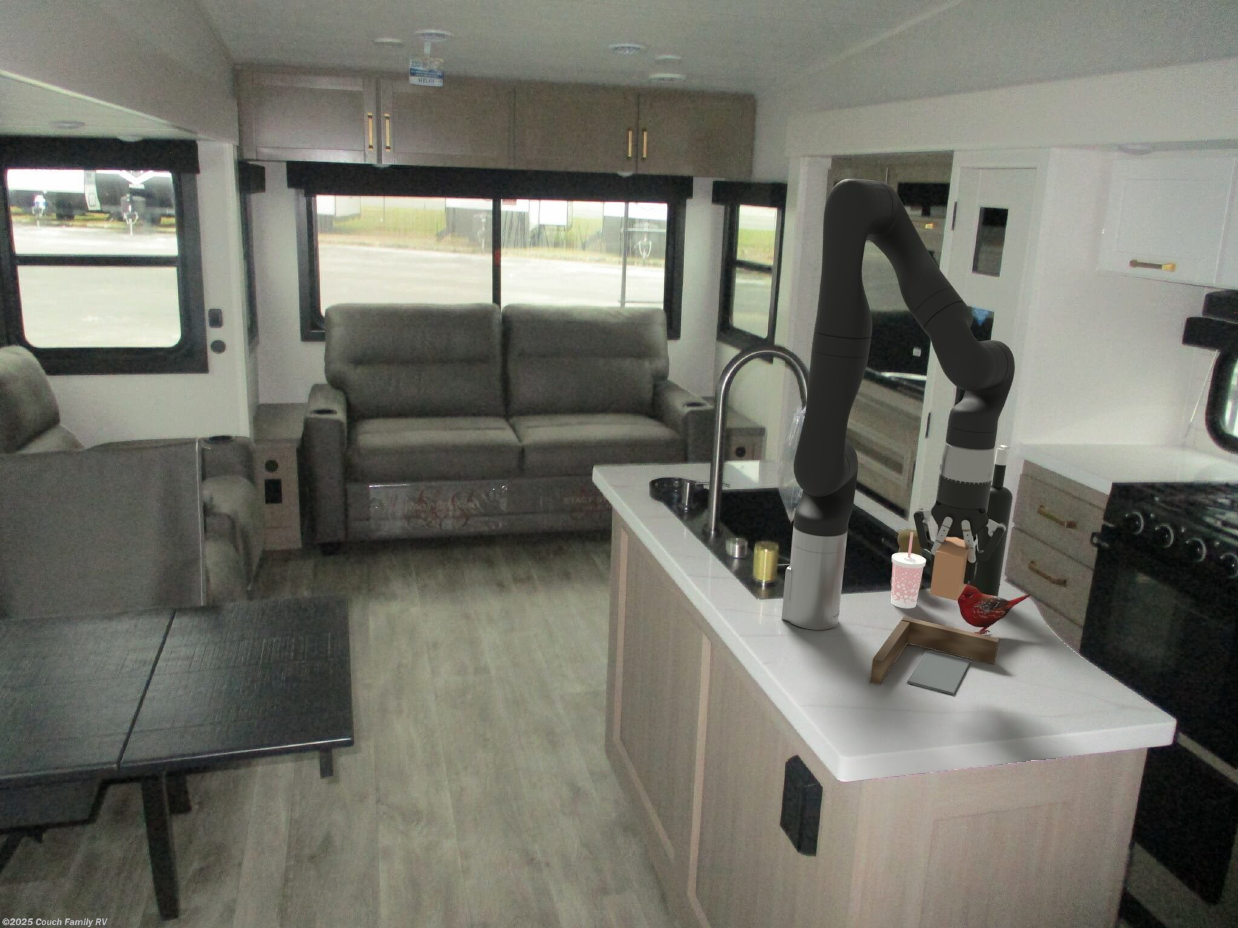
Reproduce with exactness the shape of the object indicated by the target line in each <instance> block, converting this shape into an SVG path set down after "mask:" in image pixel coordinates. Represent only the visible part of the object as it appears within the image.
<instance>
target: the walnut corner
mask: <svg viewBox="0 0 1238 928" xmlns="http://www.w3.org/2000/svg"><path fill="white" fill-rule="evenodd" d="M999 641H1000V638H998V637H993V636H989V635H986V634H977V633H974V632H972V631H968V630H963V629H959V628H954V627H950V626H946V625H944V624H943V625H941V624H938V623H933V622H928V621H926V620H925V621H924V620H922V619H921V620H920V619H915V618H913V617H909V616H908V617H907V616H903V617H902V618H901V620H900V621H899V622H898V624H897V625H896V627H894V628H893V630H892V632H891V634H890V635H889V636H888V637H887V639H886V640H885V641H884V643H882V645H881V647H880V648H879V649H878V651H877V652H876V654H874V656H873V658H872V661H871V662H872V663H871V669H870V670H871V671H870V680H869V683H873V684H876V685H881V683H882V682H883V680H884V679H885V677H887V674H888V673H889V672H890V670H891V669H892V667H894V664H895V663H896V662H897V660H898V658H899V657H900V656H901V654H902V653H903V651H904V649H906V646H907V645H908V644H909V645H914V646H918V647H922V648H925V649H928V650H932V651H936V652H937V651H938V652H940V653H944V654H948V655H950V654H951V655H952V656H954V655H955V656H956V657H958V656H959V657H961V658H962V657H963V658H965V659H969V660H970V659H971V660H974V661H978V662H982V663H986V664H991V665H995V663H996V660H997V655H998V647H999Z"/></svg>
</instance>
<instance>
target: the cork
mask: <svg viewBox="0 0 1238 928" xmlns="http://www.w3.org/2000/svg"><path fill="white" fill-rule="evenodd" d="M911 532H913V540H912V548H911V553H912V554H916V555H920V556H922V557H923V555H922V550H923V549H922V548H921V547H920V544H919V539H918V535H917V530H915V529H908V528H907V529H903V530H901V531H900V532H899V533H898V535H897V544H898V546H899V548H898V552H897V553H908V551H909V542H910V534H911ZM889 582H890V585H892V577H891V578H890V581H889ZM922 587H923V576H922V577H921V582H920V587H919V590H920V589H922Z"/></svg>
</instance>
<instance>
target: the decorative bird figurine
mask: <svg viewBox="0 0 1238 928" xmlns="http://www.w3.org/2000/svg"><path fill="white" fill-rule="evenodd" d="M1029 597H1031V594H1025V595H1022V596H1019V597H1016V598H1013V599H1009V600H1008V599H1005V598H1002V597H1000V596H998V597H997V596H992V595H985V594H982V593H981V592H980V591H979V590H978V589H977V588H975V587H973V586H970V585H966V587H965V589H964V590H963V592H962V593H961V595H960V597H959V598H958V600H957V605H958V608H959V612H960V616H961V618H963V620H964V621H965V622H966V623H967V624H969V625H970V626H972V627H975V628H981V629H980V630H979V631H975V632H973V633H977V634H981V635H987V634H988V633H991V631H990V630H989V629H988V628H990V627H991V626H993V625H996V623H997V622H998V621H1000V620H1002V619H1004V618H1005V617H1006V616H1007V614H1008V613H1009V612H1010V611H1011V609H1012V608H1013V607H1015V606H1016V605H1018V604H1020V603H1021V602H1023V601H1025V600H1026V599H1027V598H1029Z"/></svg>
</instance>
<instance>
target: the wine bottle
mask: <svg viewBox="0 0 1238 928" xmlns="http://www.w3.org/2000/svg"><path fill="white" fill-rule="evenodd" d="M1009 453H1010V446H1008V445H1003V444H999V445H996V448H995V454H994V468H993V475H992V482H991V489H990V496H989V503H988V514H989V516H990V519H991V520H993V521H995V522H997V523H998V524H1000V523H1004V524H1005V525H1006V527H1007V528H1006V530H1005V532H1004V533H1003V535H1002V537H1001V539H1000V540H999V542H998V544H997V546H996V547H995V549H994V551H993V553H992V554H991V556H990V558H989V559H988V560H987V561H978V562H977V569H976V576H975V578H974V579H973V581H972V582H969V584H968V585H970V586H973V587H975V588H977V589H978V590H979V591H980V592H981V593H982V594H985V595H992V596H997V597H999V593H1000V592H999V591H1000V586H1001V580H1002V572H1003V567H1004V566H1003V565H1004V561H1005V560H1004V558H1005V552H1006V545H1007V540H1008V539H1007V538H1008V532H1009V525H1010V517H1011V512H1012V504H1013V493H1012V491H1011V490H1009V489H1008V488H1007V487H1006V486H1004V484H1005V483H1004V482H1005V476H1006V469H1007V466H1008V460H1009ZM988 531H989V528H988V527H987V526H985V527H984V528H983V529H982V530H981V531H980V532H979V533H977V539H978V551H982V550H984V549H985V547H986V546H987V544H988V542H989V540H990V539H991V536H989V534H988Z"/></svg>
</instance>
